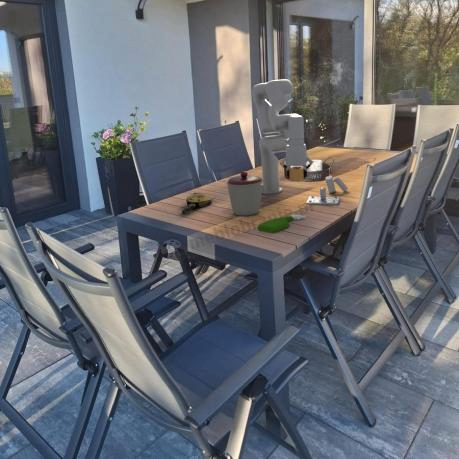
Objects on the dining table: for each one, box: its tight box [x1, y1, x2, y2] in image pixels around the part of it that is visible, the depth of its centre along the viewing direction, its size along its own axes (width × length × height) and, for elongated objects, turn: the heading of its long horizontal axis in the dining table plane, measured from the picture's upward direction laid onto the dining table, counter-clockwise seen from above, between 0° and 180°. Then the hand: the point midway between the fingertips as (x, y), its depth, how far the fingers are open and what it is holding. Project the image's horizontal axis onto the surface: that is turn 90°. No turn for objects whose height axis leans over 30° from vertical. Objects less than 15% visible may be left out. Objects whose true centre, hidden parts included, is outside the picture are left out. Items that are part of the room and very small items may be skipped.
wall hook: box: [325, 175, 349, 194], centre depth 269 cm, size 8×10×10 cm
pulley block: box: [181, 192, 215, 214], centre depth 261 cm, size 14×6×30 cm
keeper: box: [305, 187, 341, 206], centre depth 253 cm, size 16×12×7 cm
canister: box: [225, 171, 263, 217], centre depth 240 cm, size 18×18×21 cm
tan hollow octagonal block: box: [289, 166, 305, 182], centre depth 241 cm, size 7×7×6 cm
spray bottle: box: [257, 213, 306, 234], centre depth 222 cm, size 3×11×25 cm
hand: (297, 177), depth 242 cm, fingers closed on tan hollow octagonal block, 7 cm apart
